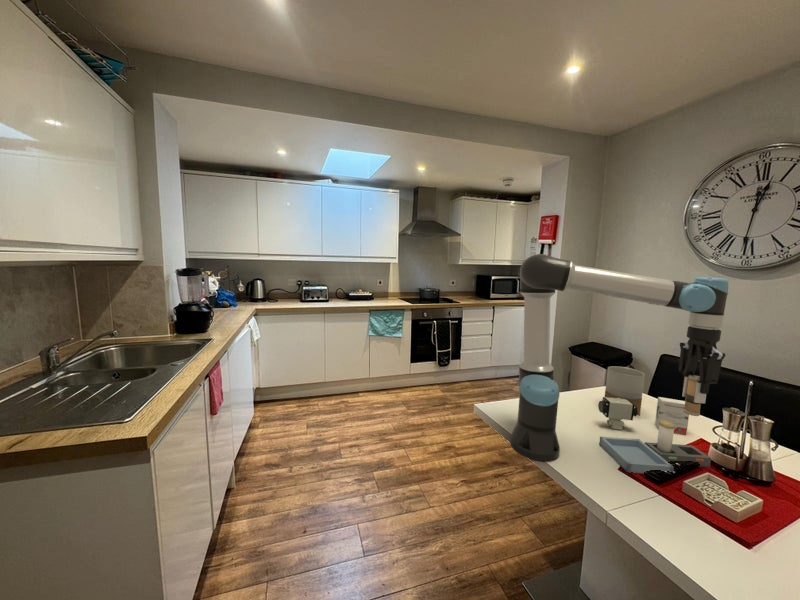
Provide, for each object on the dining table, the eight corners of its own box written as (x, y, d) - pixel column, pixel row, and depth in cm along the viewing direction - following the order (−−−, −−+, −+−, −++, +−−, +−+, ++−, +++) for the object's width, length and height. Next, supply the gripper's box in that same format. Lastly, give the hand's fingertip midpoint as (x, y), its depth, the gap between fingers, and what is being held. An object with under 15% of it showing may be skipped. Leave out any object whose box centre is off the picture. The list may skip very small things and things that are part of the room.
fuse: (660, 460, 101) (665, 425, 100) (652, 453, 105) (656, 419, 103) (673, 461, 101) (678, 426, 99) (664, 454, 104) (669, 420, 103)
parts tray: (627, 472, 94) (628, 463, 94) (599, 444, 109) (600, 436, 109) (672, 475, 94) (673, 466, 93) (638, 447, 108) (639, 439, 108)
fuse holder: (660, 464, 99) (661, 455, 99) (643, 450, 106) (645, 442, 106) (710, 467, 98) (712, 458, 98) (690, 453, 105) (692, 445, 105)
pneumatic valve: (635, 432, 118) (639, 402, 117) (601, 428, 120) (604, 398, 119) (627, 425, 123) (631, 396, 122) (595, 421, 126) (598, 392, 124)
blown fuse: (690, 415, 99) (695, 378, 97) (680, 410, 103) (685, 374, 101) (702, 416, 99) (708, 379, 97) (692, 411, 102) (697, 375, 101)
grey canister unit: (604, 401, 146) (608, 364, 144) (639, 409, 138) (644, 370, 136) (602, 411, 135) (607, 371, 133) (640, 420, 128) (645, 378, 126)
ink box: (681, 429, 122) (685, 400, 121) (686, 435, 117) (691, 405, 116) (653, 424, 125) (657, 395, 124) (657, 429, 121) (661, 400, 120)
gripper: (745, 333, 89) (731, 412, 91) (693, 323, 106) (683, 390, 108) (716, 332, 89) (704, 410, 92) (670, 321, 106) (660, 388, 109)
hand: (693, 399), depth 100 cm, fingers closed on blown fuse, 4 cm apart
